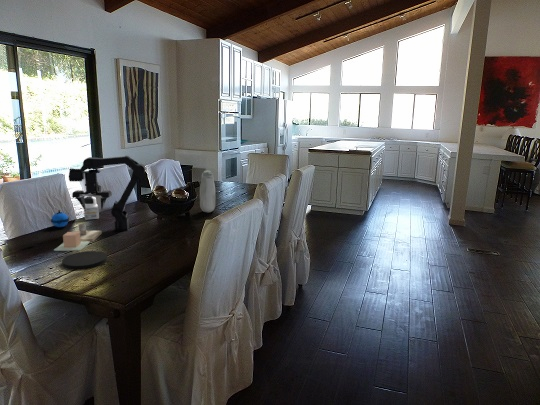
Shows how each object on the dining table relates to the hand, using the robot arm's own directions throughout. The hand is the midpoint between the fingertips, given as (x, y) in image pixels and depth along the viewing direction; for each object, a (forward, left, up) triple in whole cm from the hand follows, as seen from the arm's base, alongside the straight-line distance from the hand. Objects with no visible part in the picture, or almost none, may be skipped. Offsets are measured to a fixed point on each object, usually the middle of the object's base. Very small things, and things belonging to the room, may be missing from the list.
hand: (93, 209), depth 210 cm
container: (+11, -27, -12) cm, 32 cm away
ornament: (+21, -7, -12) cm, 25 cm away
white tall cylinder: (-59, -41, -12) cm, 73 cm away
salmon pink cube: (+2, +26, -12) cm, 28 cm away
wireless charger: (-11, +46, -13) cm, 49 cm away
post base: (+2, +12, -12) cm, 17 cm away
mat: (+2, +26, -12) cm, 29 cm away
